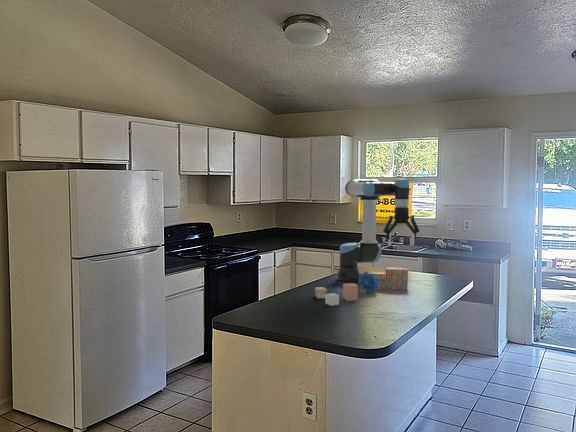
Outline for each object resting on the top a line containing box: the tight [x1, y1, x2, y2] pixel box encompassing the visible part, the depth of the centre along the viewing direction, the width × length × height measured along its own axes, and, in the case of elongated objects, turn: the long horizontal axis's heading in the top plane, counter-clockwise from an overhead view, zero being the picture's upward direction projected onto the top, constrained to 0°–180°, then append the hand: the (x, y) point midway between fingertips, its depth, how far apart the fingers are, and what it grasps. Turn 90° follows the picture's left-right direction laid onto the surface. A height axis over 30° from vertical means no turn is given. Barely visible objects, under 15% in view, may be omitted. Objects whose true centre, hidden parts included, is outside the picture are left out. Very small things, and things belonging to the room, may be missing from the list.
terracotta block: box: [342, 282, 359, 302], centre depth 270 cm, size 6×6×8 cm
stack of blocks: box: [369, 266, 409, 291], centre depth 297 cm, size 21×6×12 cm, turn 85°
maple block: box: [314, 286, 328, 300], centre depth 275 cm, size 5×5×5 cm
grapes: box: [358, 271, 378, 293], centre depth 285 cm, size 12×7×12 cm, turn 62°
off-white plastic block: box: [325, 292, 340, 306], centre depth 259 cm, size 5×5×5 cm
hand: (401, 245), depth 279 cm, fingers open, 13 cm apart
